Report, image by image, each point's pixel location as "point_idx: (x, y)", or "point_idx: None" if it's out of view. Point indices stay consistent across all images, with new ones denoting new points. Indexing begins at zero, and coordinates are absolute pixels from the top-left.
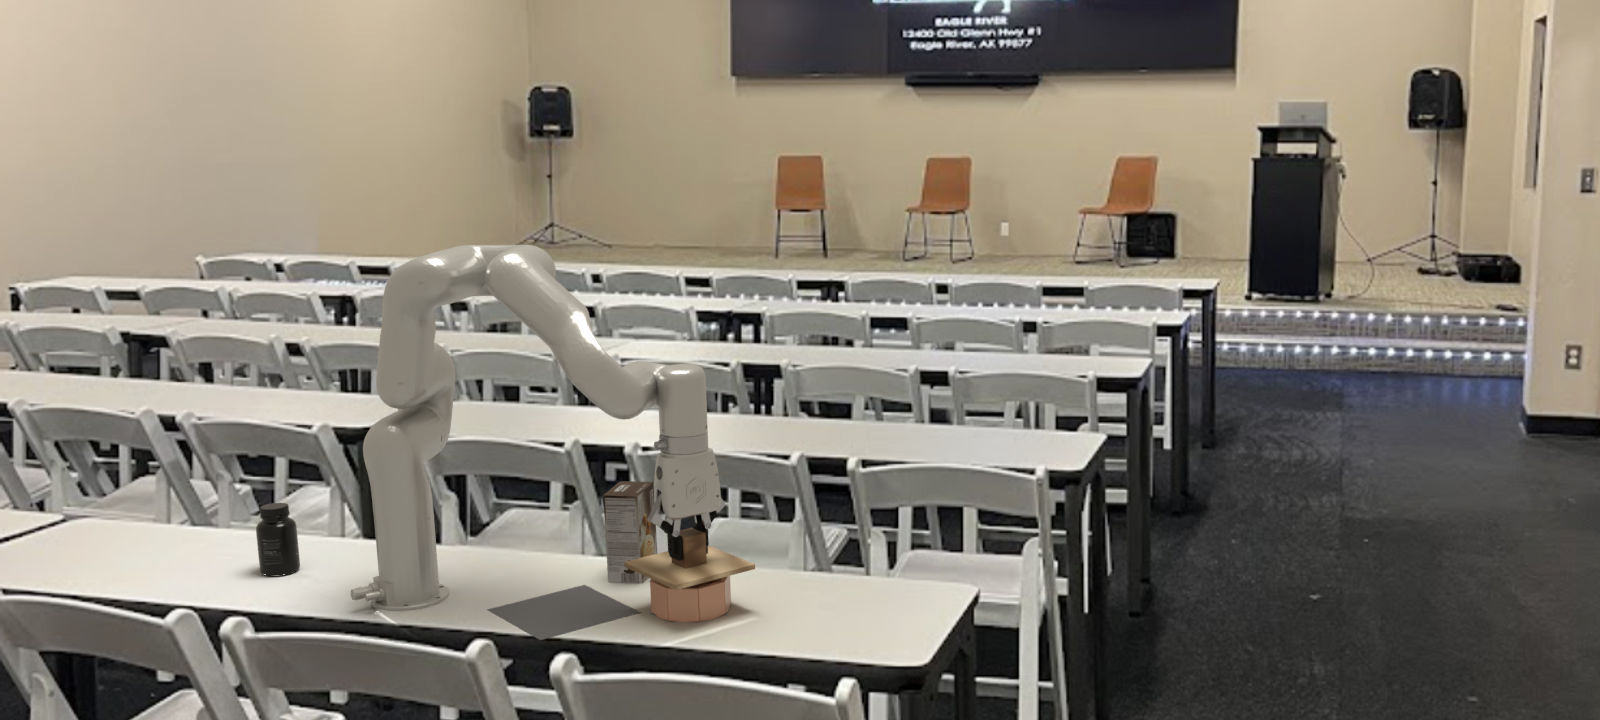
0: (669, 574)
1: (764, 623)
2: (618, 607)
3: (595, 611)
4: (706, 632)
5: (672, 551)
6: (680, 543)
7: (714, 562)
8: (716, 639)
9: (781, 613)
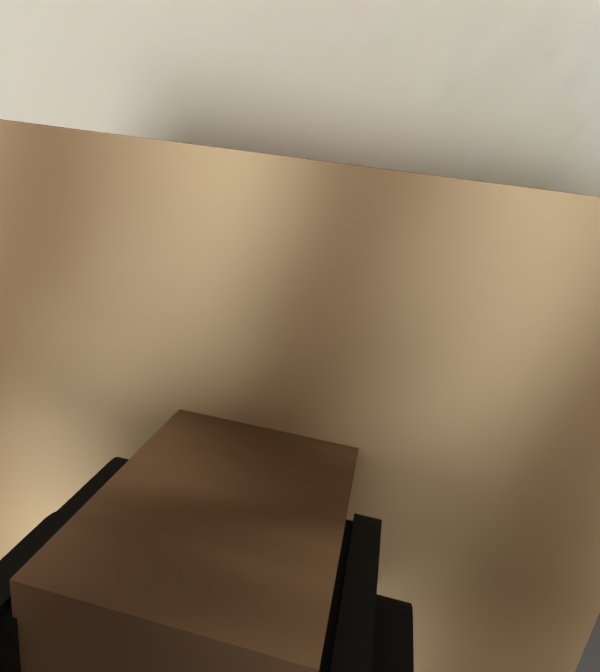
0: (540, 457)
1: (192, 4)
2: None
3: (584, 652)
4: (455, 131)
5: (411, 632)
6: (358, 644)
7: (130, 379)
8: (500, 5)
9: (64, 53)
